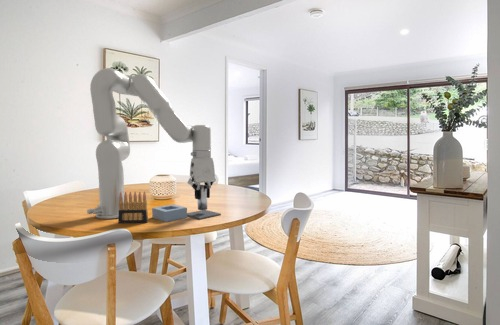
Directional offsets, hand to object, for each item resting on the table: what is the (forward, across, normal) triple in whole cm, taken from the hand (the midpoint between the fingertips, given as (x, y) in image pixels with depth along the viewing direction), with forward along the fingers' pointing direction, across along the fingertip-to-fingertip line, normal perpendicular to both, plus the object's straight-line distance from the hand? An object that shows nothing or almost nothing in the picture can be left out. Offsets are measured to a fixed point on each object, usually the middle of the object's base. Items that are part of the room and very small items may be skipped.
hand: (202, 197), depth 133 cm
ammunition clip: (+7, -26, +9) cm, 29 cm away
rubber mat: (+7, 0, 0) cm, 7 cm away
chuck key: (+5, 0, 0) cm, 5 cm away
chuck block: (+7, -12, +6) cm, 15 cm away
